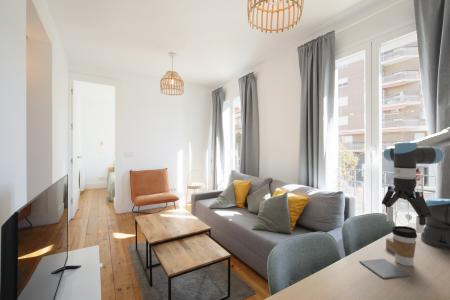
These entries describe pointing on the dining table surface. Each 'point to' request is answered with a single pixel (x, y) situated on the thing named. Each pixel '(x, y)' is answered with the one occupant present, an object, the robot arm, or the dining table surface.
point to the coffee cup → (404, 244)
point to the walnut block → (390, 244)
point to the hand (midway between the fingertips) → (403, 226)
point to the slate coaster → (384, 268)
